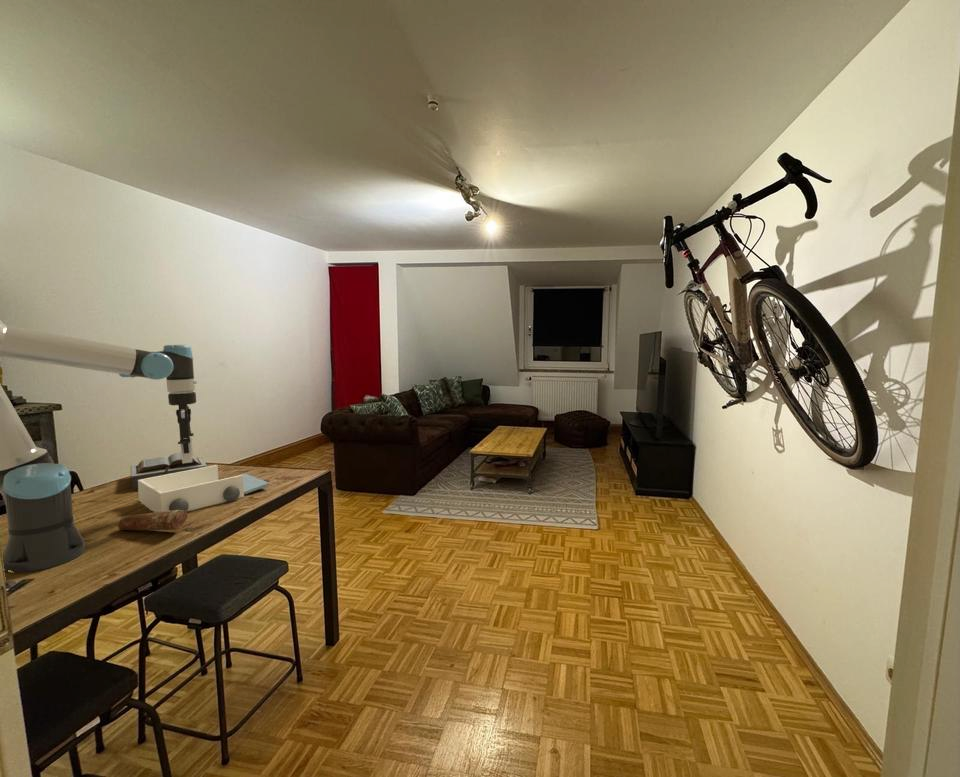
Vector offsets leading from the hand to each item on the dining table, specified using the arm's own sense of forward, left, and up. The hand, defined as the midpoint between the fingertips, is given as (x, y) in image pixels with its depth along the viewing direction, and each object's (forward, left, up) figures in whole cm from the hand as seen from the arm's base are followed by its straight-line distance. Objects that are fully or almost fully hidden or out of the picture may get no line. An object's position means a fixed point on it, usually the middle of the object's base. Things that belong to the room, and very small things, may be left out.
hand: (187, 459), depth 146 cm
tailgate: (+16, +7, -15) cm, 24 cm away
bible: (+6, +39, -17) cm, 43 cm away
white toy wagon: (+3, +7, -16) cm, 18 cm away
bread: (-13, -15, -18) cm, 27 cm away
